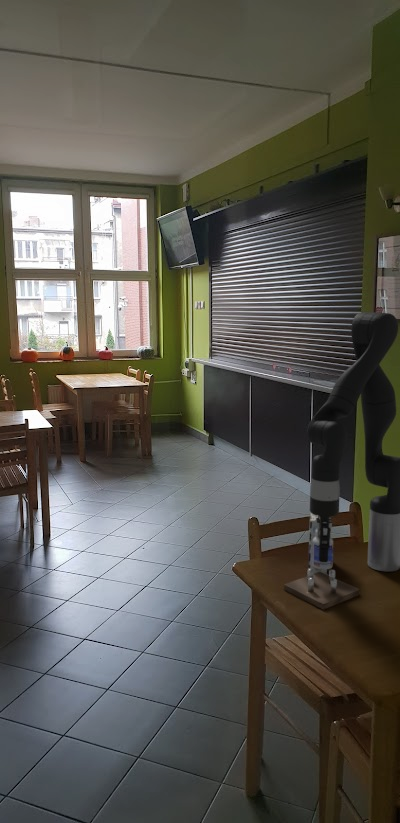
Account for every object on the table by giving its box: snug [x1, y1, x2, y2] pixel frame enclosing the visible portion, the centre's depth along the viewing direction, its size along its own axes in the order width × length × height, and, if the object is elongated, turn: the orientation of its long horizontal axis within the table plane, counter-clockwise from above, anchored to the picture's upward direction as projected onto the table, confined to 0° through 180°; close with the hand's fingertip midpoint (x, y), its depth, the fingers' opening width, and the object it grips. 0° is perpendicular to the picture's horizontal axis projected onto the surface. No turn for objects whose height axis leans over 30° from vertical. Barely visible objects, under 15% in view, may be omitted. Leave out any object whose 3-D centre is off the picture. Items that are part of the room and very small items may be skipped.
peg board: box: [283, 572, 360, 611], centre depth 160 cm, size 14×14×2 cm
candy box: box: [308, 512, 331, 576], centre depth 176 cm, size 14×6×16 cm, turn 168°
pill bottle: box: [312, 529, 334, 570], centre depth 158 cm, size 5×5×10 cm
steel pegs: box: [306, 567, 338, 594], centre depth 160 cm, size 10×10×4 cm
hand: (322, 556), depth 159 cm, fingers closed on pill bottle, 5 cm apart
